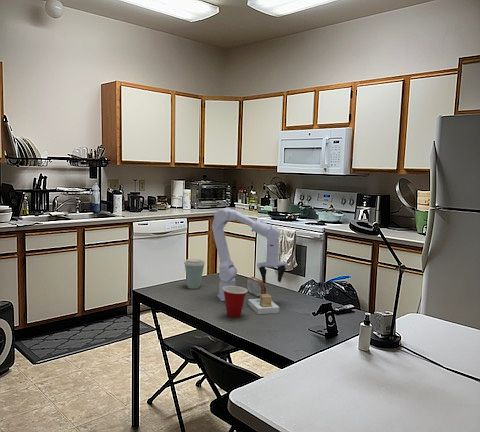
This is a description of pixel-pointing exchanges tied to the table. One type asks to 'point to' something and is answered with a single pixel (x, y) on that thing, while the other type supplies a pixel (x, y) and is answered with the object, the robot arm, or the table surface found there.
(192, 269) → the disposable coffee cup
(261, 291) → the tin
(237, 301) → the plastic cup
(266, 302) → the square peg
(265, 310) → the socket block
